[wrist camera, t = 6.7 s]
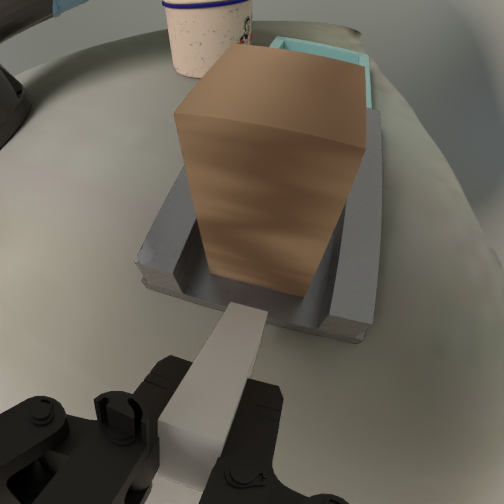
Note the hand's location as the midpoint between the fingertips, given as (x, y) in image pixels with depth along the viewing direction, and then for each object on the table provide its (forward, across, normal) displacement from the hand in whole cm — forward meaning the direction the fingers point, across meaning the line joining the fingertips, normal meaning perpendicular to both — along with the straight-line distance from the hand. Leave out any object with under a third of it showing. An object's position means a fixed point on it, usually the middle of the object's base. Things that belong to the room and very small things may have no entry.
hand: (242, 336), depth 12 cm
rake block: (+6, 0, +2) cm, 6 cm away
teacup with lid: (+23, -12, +18) cm, 32 cm away
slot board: (+9, 0, +4) cm, 10 cm away
